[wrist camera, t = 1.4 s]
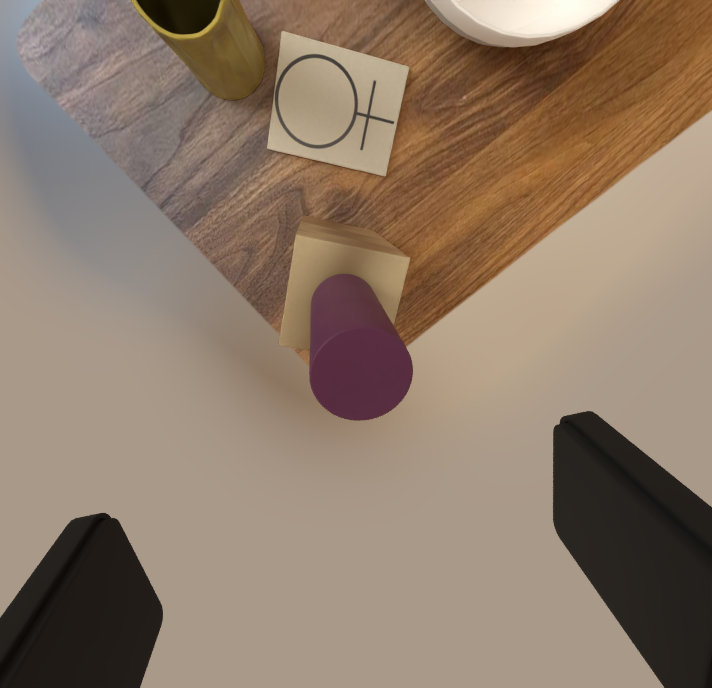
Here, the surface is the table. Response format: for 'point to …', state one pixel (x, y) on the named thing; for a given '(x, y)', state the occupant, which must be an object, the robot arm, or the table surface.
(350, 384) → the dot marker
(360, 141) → the sketch card
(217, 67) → the vase
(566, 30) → the bowl
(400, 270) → the stand
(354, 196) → the table surface
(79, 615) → the robot arm
